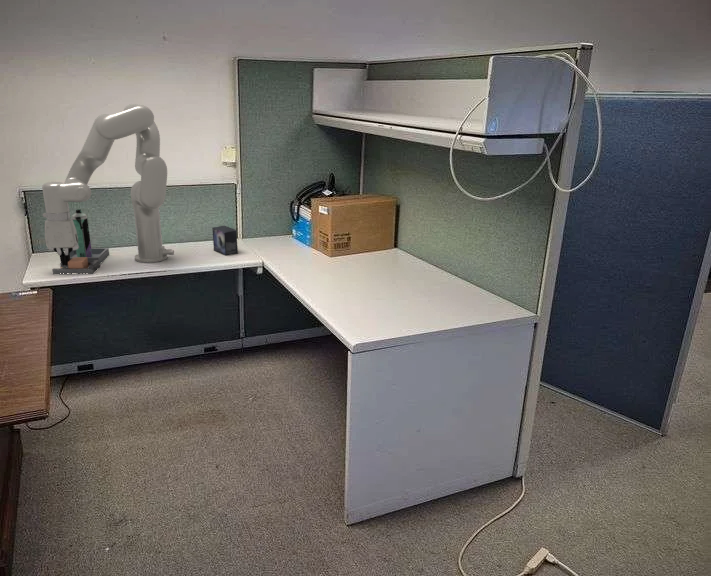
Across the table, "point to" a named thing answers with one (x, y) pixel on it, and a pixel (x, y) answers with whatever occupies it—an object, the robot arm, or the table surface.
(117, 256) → the table surface
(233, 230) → the small box
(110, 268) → the table surface
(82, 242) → the spray can
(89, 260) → the tray
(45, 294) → the table surface
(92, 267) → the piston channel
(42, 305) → the table surface
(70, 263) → the block
